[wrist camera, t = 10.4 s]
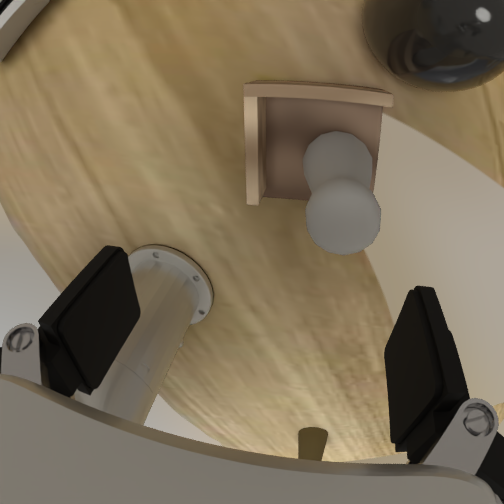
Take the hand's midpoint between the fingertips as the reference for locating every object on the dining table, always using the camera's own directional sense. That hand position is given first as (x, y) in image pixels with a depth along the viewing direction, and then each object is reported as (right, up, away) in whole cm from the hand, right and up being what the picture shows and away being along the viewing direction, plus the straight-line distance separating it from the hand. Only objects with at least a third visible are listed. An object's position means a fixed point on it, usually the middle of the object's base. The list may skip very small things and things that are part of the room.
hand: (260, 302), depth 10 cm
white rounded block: (-27, +30, +13) cm, 43 cm away
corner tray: (+6, +11, +17) cm, 22 cm away
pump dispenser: (+13, +20, +10) cm, 26 cm away
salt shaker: (+7, +10, +17) cm, 21 cm away
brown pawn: (+12, -35, +47) cm, 60 cm away
